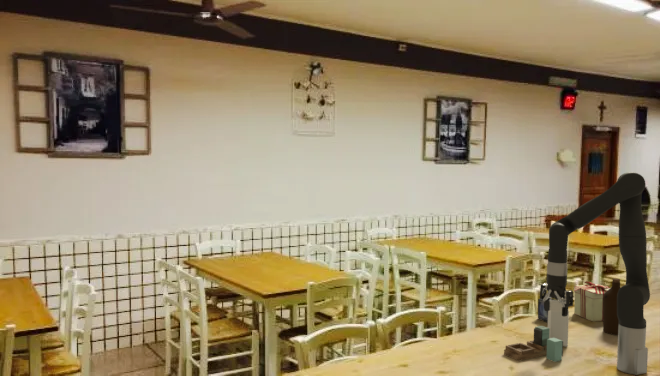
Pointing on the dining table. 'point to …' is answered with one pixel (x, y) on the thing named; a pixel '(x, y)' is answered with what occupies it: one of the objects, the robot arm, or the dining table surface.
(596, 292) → the gift box
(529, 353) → the walnut rail
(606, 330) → the olive oil
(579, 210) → the robot arm
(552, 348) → the teal rectangular block
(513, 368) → the dining table surface
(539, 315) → the small box
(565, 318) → the milk carton
